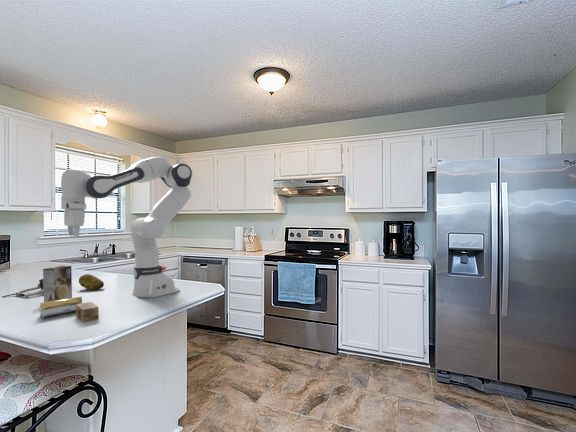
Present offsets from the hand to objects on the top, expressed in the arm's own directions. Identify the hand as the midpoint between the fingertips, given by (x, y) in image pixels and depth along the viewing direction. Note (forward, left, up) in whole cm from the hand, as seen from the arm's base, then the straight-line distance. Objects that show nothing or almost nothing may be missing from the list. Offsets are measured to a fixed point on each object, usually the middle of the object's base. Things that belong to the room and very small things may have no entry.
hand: (73, 235), depth 140 cm
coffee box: (+4, -12, -31) cm, 34 cm away
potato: (-13, -28, -31) cm, 44 cm away
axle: (+8, +18, -27) cm, 33 cm away
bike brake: (+10, -37, -31) cm, 50 cm away
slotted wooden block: (+2, +30, -31) cm, 43 cm away
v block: (+8, +18, -31) cm, 37 cm away
